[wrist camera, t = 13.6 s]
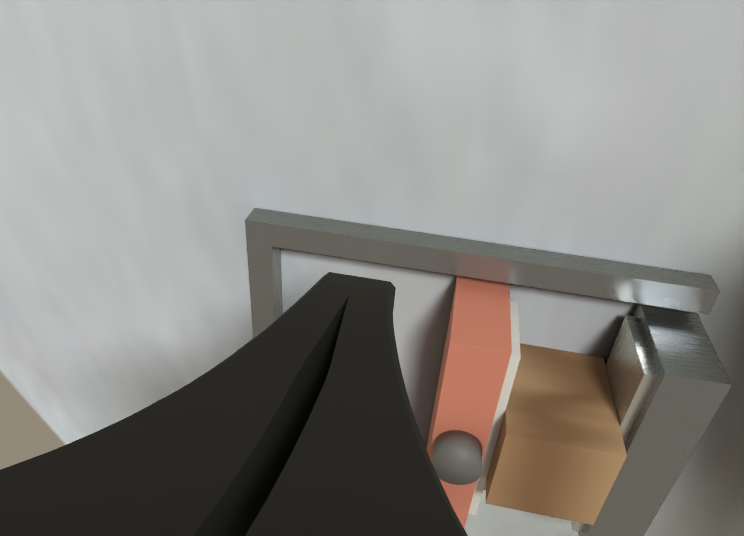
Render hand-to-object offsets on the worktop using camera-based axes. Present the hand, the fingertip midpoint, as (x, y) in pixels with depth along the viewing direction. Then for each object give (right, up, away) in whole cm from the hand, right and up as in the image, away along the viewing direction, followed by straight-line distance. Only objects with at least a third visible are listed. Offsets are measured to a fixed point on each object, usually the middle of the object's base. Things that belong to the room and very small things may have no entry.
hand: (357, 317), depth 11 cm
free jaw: (+4, -3, +13) cm, 14 cm away
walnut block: (+8, -4, +13) cm, 16 cm away
